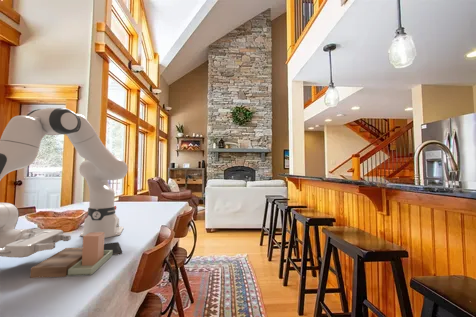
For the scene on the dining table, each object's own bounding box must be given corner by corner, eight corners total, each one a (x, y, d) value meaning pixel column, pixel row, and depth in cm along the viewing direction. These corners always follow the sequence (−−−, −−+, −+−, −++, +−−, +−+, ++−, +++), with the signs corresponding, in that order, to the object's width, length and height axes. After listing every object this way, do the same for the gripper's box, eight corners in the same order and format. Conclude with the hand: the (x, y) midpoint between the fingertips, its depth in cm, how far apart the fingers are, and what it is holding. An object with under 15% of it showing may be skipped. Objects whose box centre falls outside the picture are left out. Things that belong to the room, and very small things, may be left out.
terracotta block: (88, 260, 87) (90, 232, 88) (103, 259, 88) (104, 232, 88) (81, 265, 82) (83, 236, 83) (97, 265, 83) (98, 236, 84)
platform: (65, 255, 92) (66, 247, 93) (93, 255, 94) (93, 247, 94) (30, 277, 74) (30, 268, 74) (65, 276, 75) (66, 266, 75)
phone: (100, 255, 92) (98, 244, 104) (100, 258, 92) (98, 247, 104) (122, 251, 96) (118, 241, 109) (122, 254, 96) (118, 244, 109)
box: (93, 255, 93) (93, 250, 93) (112, 255, 94) (112, 249, 94) (67, 275, 76) (67, 269, 76) (91, 275, 76) (91, 268, 77)
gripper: (-8, 242, 72) (43, 241, 74) (38, 226, 92) (77, 226, 94) (-9, 263, 72) (42, 262, 74) (37, 243, 92) (76, 242, 94)
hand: (62, 241), depth 84 cm, fingers open, 8 cm apart
